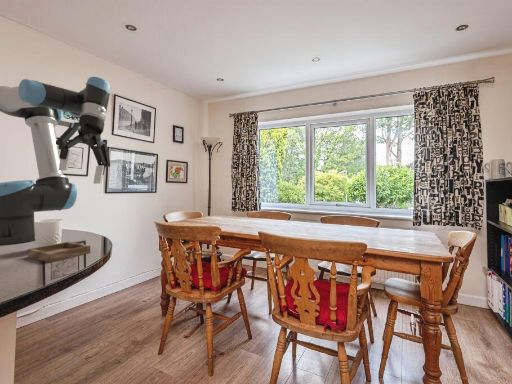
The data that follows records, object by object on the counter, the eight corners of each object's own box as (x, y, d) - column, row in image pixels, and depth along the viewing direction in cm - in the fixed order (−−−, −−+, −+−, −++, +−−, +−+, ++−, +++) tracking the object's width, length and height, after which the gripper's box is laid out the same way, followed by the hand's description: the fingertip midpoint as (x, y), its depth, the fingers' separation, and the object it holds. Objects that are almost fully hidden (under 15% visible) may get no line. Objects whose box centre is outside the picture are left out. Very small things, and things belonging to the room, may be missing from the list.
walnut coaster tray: (27, 257, 85) (27, 249, 84) (68, 248, 95) (68, 241, 95) (50, 262, 80) (50, 254, 79) (90, 252, 90) (90, 245, 90)
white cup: (47, 252, 90) (46, 222, 89) (28, 251, 91) (27, 221, 91) (68, 247, 97) (67, 219, 97) (50, 245, 99) (49, 218, 99)
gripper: (70, 96, 82) (56, 162, 76) (125, 135, 106) (117, 187, 100) (50, 99, 84) (34, 164, 78) (109, 136, 107) (100, 188, 101)
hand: (81, 177), depth 89 cm, fingers open, 13 cm apart
